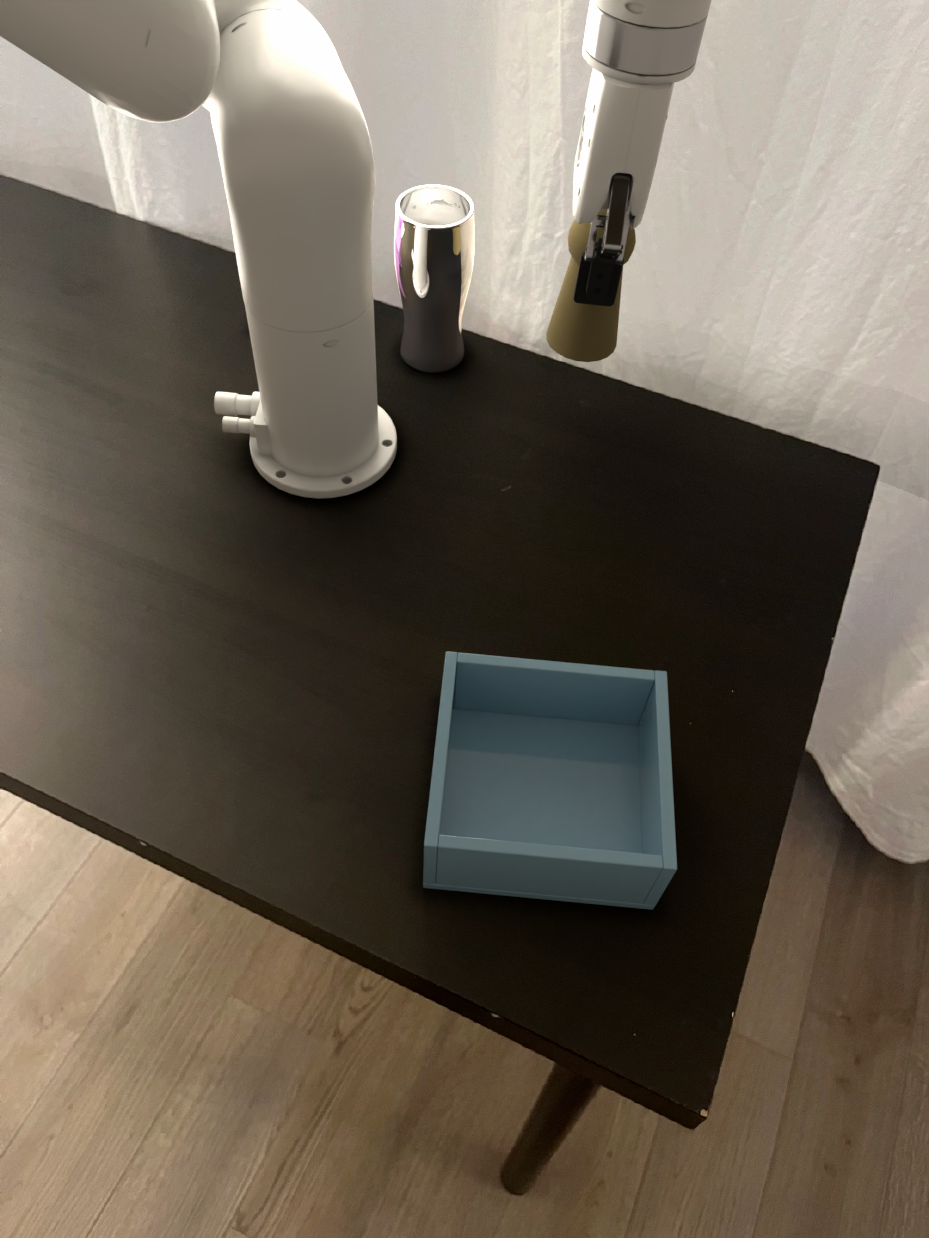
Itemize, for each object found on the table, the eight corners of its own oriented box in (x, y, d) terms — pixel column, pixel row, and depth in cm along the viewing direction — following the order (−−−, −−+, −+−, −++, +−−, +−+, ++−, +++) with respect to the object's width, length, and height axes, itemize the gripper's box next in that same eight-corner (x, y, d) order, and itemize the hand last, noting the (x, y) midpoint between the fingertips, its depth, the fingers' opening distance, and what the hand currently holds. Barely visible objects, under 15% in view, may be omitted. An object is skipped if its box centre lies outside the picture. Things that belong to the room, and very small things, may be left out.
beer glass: (443, 386, 88) (447, 239, 76) (381, 358, 90) (376, 210, 78) (482, 347, 92) (492, 200, 80) (422, 321, 94) (423, 174, 82)
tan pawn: (612, 368, 79) (641, 247, 70) (540, 354, 79) (561, 233, 71) (620, 324, 83) (648, 205, 74) (551, 312, 83) (571, 191, 74)
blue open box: (422, 888, 60) (423, 845, 55) (442, 704, 68) (445, 650, 63) (653, 910, 60) (677, 869, 55) (646, 722, 68) (667, 671, 63)
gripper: (586, -24, 67) (549, 217, 82) (584, 90, 57) (543, 342, 71) (692, -12, 67) (636, 227, 82) (710, 104, 57) (642, 353, 71)
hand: (593, 278), depth 76 cm, fingers closed on tan pawn, 5 cm apart
